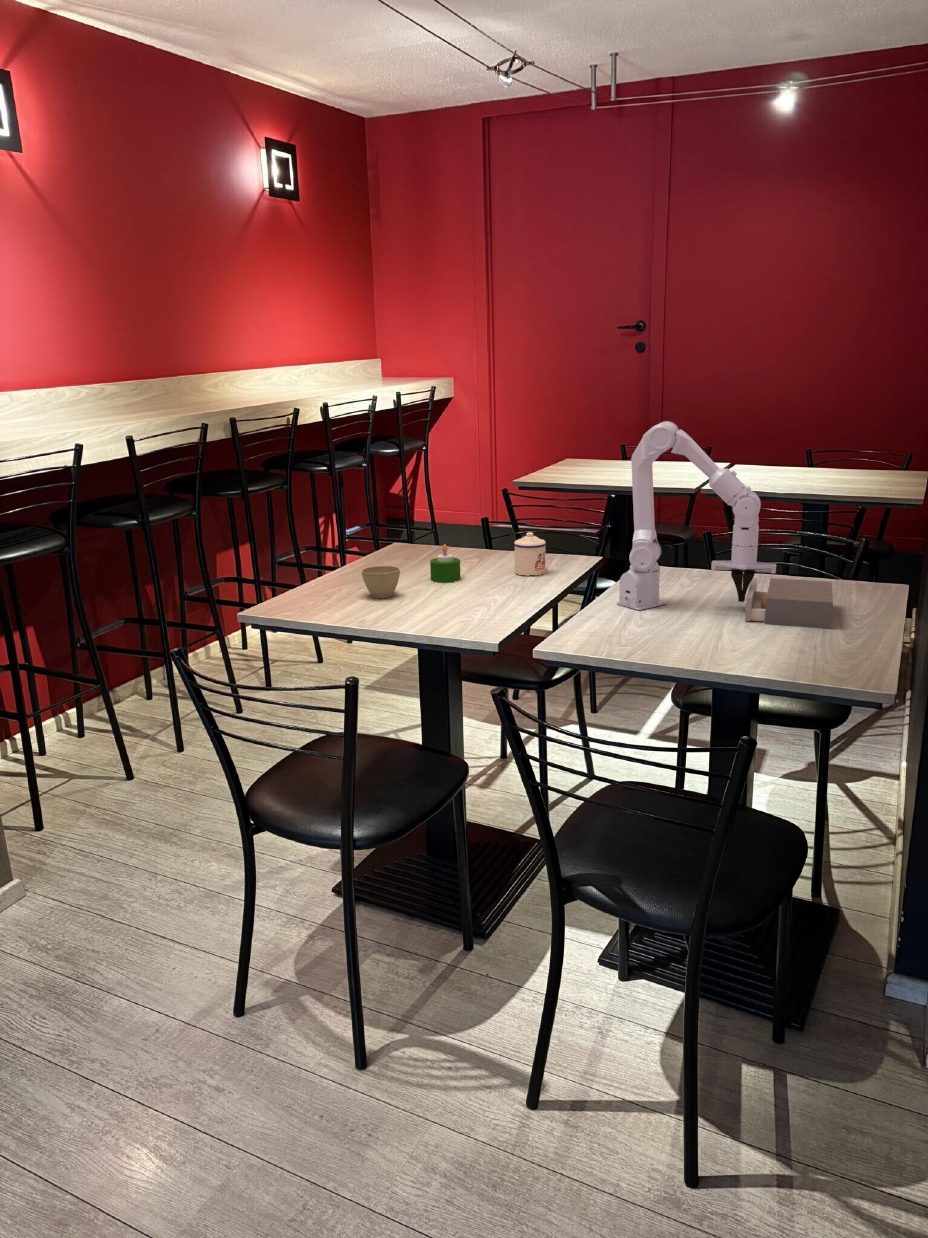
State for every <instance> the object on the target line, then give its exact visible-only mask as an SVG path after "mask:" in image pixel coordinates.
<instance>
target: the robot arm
mask: <svg viewBox="0 0 928 1238" xmlns="http://www.w3.org/2000/svg"><path fill="white" fill-rule="evenodd" d="M670 449H671V452H670V453H671V454H676V455H681V456H684V457H685V458H687V459H688V460H689V461H690V462H691V463H692V464H693V465H694V466H696V468H698V470H700V471H701V472H702V473H703V474H704V475H705V476H706V477H708V479H709V481H708V482H709V484H708V485H709V487H710V488H711V490H712V491H713V492H715V494H717V496H718V497H720V498H721V500H722V501H724V502H725V504H727V506H730V507H731V508H732V512H733V515H734V524H733V525H732V541H731V560H712V561H711V567H710V568H711V569H710V570H711V571H717V570H718V571H731V573H730V577H731V579H732V580H733V583H734V585H735V589H736V592H737V593H736V594H737V599H738V602H739V603H745V602H746V596H747V593H748V590H749V587H750V584H751V581H752V579H753V578H755V574H756V572H757V573H769V574H776V572H777V563H771V562H761V561H758V560H757V558H758V545H759V531H760V527H759V523H760V519H759V513H760V510H761V507H762V505H761V504H762V503H761V502H762V501H761V499H760V496H758V494H757V493H756V492H755V491H752V488H751V487H750V486H746V485H745V484H744V483H743V481H741V480H740V479H739V478H738V477H737V475H738V473H737V472H736V471H735V469H734V470H730V469H729V468H721V467H719V466H718V465H717V464H716V463H715V461H713V459H711V457H709V455H708V454H707V453H706V452H705V451H704V450H703V449H702V448H701V447H700V446H699V445H698V444H697V442H696V441H694V439H693V438H692V437H691V436H690V435H689V434H688V433H686V432H685V431H684V430H683V429H680V428H679V427H678V426H677V424H675V423H674V422H673V421H668V420H667V421H665V420H664V421H661V422H659V423H658V424H656V425H653V426H652V427H651V428H650V429H648V430H647V431H646V432H645V433H644V434H643V436H642V438H641V440H640V441H639V443H638V445H637V446H636V448H635V449H634V452H633V453H632V455H631V458H630V459H631V481H632V482H631V485H632V504H633V508H632V509H633V526H634V527H633V530H634V532H633V535H632V536H633V537H632V548H631V551H630V553H629V555H628V556H629V558H628V560H629V563H630V565H629V569H628V570H627V571H626V572H624V573H623V574H622V575H621V576H620V578H619V595H618V597H619V598H618V599H619V600H618V601H617V602H616V604H617V605H619V606H623V607H627V608H630V609H632V610H633V609H634V610H637V611H641V610H646V609H651V608H654V607H658V606H659V607H660V606H663V605H667V602H666V601H663V600H660V577H661V576H660V575H661V572H660V571H661V566H660V565H659V564H658V560H659V559H660V557H661V554H662V548H661V544H660V543H659V542H658V538H657V537H658V536H657V531H656V525H655V523H656V522H655V500H654V476H653V475H654V474H653V471H654V470H653V463H654V462H655V461H656V460H657V459H658V458H659V457H660V456H661V455H662V454H664V453H665V452H666V451H668V450H670Z"/></svg>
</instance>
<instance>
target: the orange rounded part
mask: <svg viewBox="0 0 928 1238" xmlns="http://www.w3.org/2000/svg"><path fill="white" fill-rule="evenodd" d="M766 597H767V593H763V594H762V597H761V609H766Z"/></svg>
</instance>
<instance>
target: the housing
mask: <svg viewBox="0 0 928 1238" xmlns="http://www.w3.org/2000/svg"><path fill="white" fill-rule="evenodd" d="M767 592H768V593H767V597H766V610H765V621H764V624H765V625H775V626H777V625H778V626H789V627H790V626H791V627H802V628H803V627H805V628H819V629H831V628H832V619H833V618H832V617H833V606H834V595H833V594H834V593H833V592H834V591H833V582H832V581H826V580H824V581H823V580H809V579H792V578H773V577H771V578H770V580H769V584H768V589H767Z"/></svg>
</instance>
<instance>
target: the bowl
mask: <svg viewBox="0 0 928 1238" xmlns="http://www.w3.org/2000/svg"><path fill="white" fill-rule="evenodd" d="M360 571H361V577H362V579H363V582H364V584H365V587H366V588H367V591H368V592H369V594H370V596H372V598H374V599H388V598H390V597H391V598H392V596H393V595H394V593H395V592H396V591H395V590H396V589H397V586H398V583H399V579H400V573H401V568H400V567H399V566H395V565H374V566H368V567H367V566H366V567H365V568H362V569H361V570H360Z"/></svg>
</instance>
